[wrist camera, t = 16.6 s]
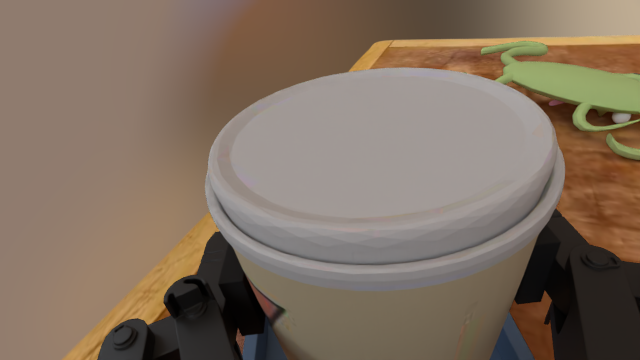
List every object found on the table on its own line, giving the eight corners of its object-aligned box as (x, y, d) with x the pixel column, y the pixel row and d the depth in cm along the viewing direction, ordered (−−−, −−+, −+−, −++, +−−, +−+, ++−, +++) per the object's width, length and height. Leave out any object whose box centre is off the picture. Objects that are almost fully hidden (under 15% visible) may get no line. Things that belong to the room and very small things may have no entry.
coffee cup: (301, 275, 21) (251, 77, 14) (468, 276, 19) (501, 52, 13) (262, 471, 13) (115, 247, 7) (530, 500, 12) (697, 241, 5)
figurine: (493, 68, 59) (498, 32, 56) (717, 104, 40) (744, 54, 37) (421, 106, 50) (422, 67, 47) (663, 174, 32) (691, 118, 29)
